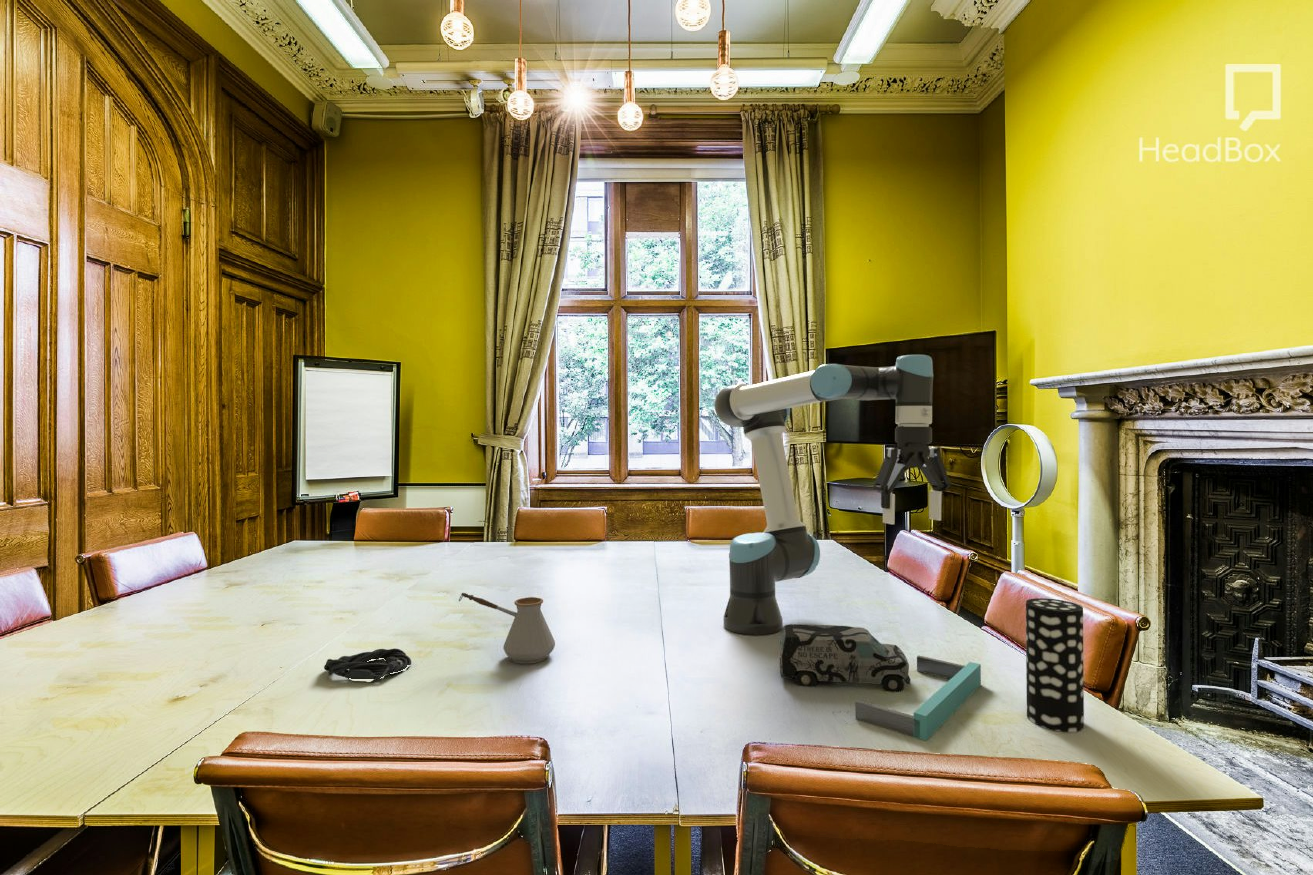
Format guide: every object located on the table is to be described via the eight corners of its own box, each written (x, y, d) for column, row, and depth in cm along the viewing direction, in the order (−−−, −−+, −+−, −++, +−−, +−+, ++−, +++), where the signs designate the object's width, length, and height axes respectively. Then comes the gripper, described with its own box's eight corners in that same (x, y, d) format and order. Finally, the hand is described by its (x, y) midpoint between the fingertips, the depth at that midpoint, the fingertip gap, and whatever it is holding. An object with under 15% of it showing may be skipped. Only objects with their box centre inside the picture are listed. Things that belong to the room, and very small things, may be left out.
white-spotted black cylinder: (1016, 711, 112) (1015, 599, 112) (1060, 709, 112) (1059, 597, 112) (1049, 733, 103) (1048, 612, 103) (1096, 730, 104) (1095, 610, 104)
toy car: (912, 694, 120) (911, 642, 120) (780, 686, 124) (779, 636, 124) (900, 673, 130) (900, 625, 130) (779, 666, 135) (778, 620, 135)
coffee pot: (558, 648, 148) (557, 584, 148) (551, 666, 136) (550, 597, 136) (467, 650, 147) (466, 586, 147) (452, 668, 136) (451, 599, 136)
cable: (308, 682, 130) (308, 661, 130) (352, 658, 144) (352, 639, 144) (384, 686, 127) (383, 665, 127) (421, 661, 141) (421, 642, 141)
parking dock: (855, 718, 110) (855, 695, 110) (918, 669, 132) (918, 650, 132) (926, 740, 102) (926, 716, 102) (980, 684, 124) (980, 664, 124)
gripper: (882, 425, 130) (880, 527, 131) (968, 425, 140) (967, 520, 141) (857, 425, 137) (855, 522, 138) (941, 425, 147) (940, 515, 148)
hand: (912, 521), depth 139 cm, fingers open, 13 cm apart
